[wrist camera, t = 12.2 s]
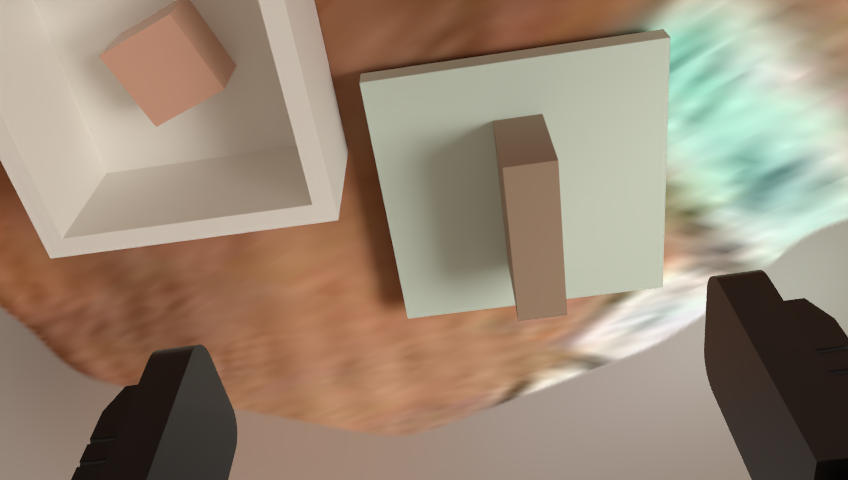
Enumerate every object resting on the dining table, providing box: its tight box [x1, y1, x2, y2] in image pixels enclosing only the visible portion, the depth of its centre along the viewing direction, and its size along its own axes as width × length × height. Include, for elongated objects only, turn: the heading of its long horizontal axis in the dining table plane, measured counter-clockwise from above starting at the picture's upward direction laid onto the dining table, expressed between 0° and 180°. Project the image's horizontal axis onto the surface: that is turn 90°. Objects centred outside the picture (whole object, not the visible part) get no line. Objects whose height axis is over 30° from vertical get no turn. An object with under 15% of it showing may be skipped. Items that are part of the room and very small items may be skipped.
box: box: [0, 0, 348, 259], centre depth 35 cm, size 14×14×7 cm
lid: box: [359, 29, 670, 321], centre depth 40 cm, size 15×15×7 cm
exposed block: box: [99, 0, 236, 127], centre depth 36 cm, size 4×4×3 cm
